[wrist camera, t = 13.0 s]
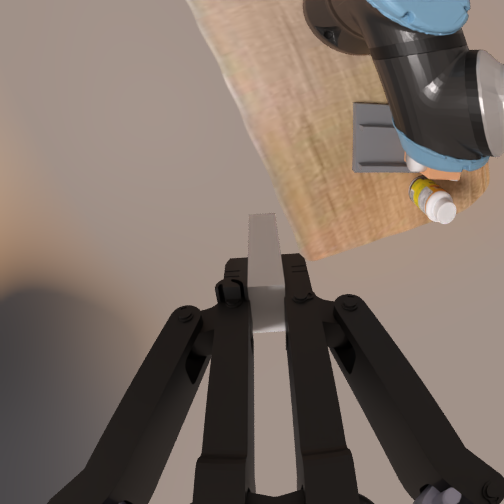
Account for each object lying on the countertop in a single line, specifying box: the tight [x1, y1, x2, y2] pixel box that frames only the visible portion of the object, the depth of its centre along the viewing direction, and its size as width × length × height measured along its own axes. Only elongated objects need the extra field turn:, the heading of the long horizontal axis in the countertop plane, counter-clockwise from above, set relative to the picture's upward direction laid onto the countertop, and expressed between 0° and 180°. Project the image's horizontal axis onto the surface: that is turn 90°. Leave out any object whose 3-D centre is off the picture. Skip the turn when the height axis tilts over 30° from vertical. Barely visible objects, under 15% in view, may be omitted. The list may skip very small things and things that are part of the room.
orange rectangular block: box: [404, 152, 461, 180], centre depth 41 cm, size 5×8×9 cm, turn 95°
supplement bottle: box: [409, 176, 456, 224], centre depth 46 cm, size 6×6×10 cm
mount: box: [352, 103, 458, 181], centre depth 42 cm, size 12×17×8 cm
